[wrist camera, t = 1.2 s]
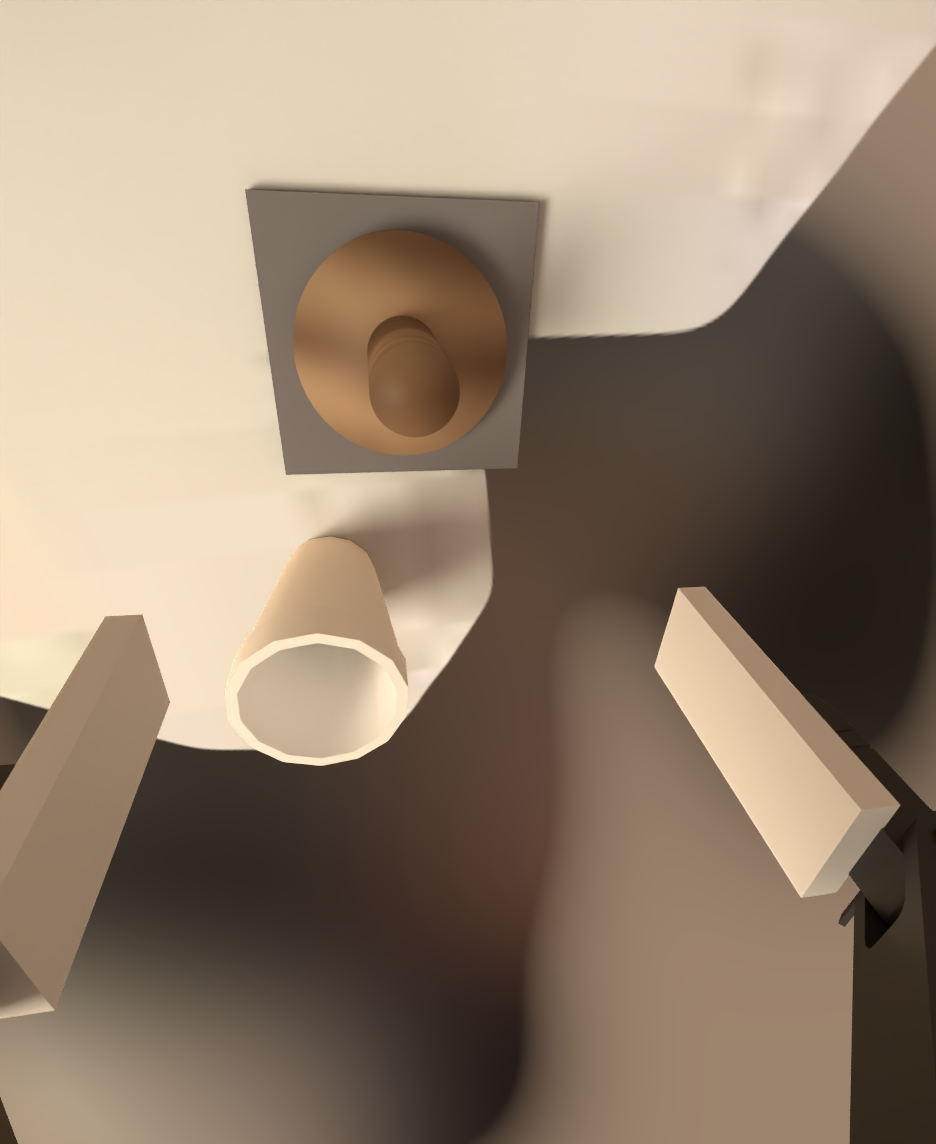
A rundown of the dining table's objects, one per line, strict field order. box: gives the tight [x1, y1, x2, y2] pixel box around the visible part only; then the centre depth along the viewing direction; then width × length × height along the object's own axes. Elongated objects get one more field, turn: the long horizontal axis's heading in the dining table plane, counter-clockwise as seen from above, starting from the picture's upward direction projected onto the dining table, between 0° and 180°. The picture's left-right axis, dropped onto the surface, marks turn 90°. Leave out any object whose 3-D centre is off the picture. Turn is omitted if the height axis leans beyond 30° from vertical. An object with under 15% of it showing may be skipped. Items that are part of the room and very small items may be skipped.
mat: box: [245, 189, 539, 475], centre depth 34 cm, size 15×15×1 cm
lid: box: [293, 230, 507, 456], centre depth 29 cm, size 12×12×10 cm
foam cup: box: [224, 536, 408, 766], centre depth 36 cm, size 10×9×13 cm
